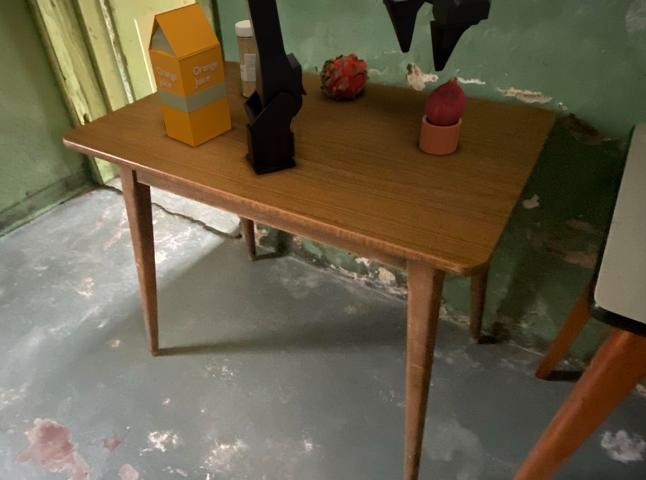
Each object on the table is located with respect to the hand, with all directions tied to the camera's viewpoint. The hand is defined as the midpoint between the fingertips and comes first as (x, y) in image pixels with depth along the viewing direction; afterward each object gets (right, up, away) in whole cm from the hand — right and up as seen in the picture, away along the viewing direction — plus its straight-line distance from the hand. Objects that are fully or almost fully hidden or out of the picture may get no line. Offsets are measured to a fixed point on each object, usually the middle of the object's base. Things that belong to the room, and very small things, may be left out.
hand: (421, 61), depth 72 cm
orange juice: (-35, -6, +16) cm, 39 cm away
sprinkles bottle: (-26, +5, +27) cm, 38 cm away
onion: (+4, -9, +5) cm, 11 cm away
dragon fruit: (-8, +4, +25) cm, 26 cm away
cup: (+5, -11, +7) cm, 13 cm away
